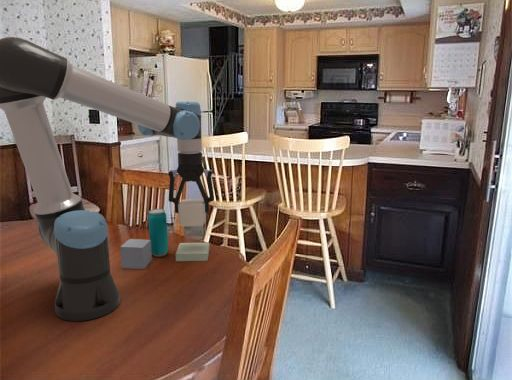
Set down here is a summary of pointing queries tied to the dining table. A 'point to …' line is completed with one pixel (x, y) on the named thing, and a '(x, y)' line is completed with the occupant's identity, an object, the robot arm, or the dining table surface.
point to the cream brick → (191, 212)
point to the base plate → (192, 252)
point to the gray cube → (136, 254)
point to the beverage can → (158, 232)
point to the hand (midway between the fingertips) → (192, 222)
